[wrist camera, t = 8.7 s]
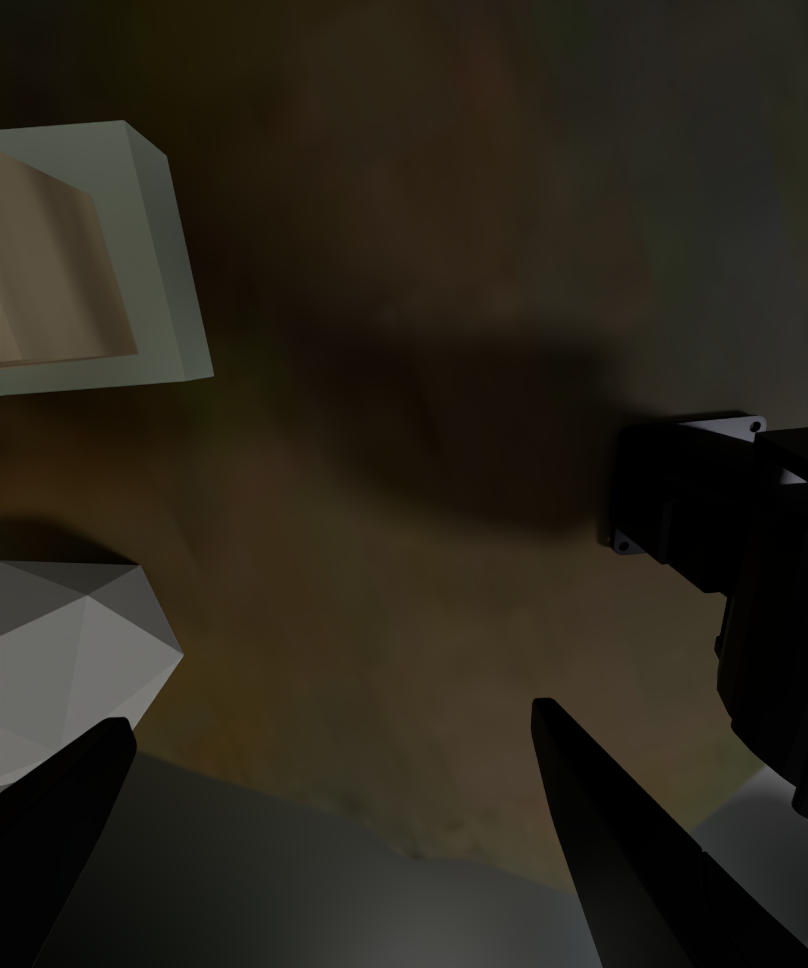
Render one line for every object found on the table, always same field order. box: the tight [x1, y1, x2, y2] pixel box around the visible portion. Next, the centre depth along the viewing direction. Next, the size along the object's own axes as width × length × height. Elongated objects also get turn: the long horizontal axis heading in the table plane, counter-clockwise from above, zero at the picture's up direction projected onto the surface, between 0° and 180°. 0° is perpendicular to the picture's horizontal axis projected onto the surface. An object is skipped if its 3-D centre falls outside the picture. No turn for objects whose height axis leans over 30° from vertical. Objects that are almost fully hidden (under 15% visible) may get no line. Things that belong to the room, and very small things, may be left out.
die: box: [0, 561, 184, 786], centre depth 18 cm, size 8×9×10 cm
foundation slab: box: [0, 120, 214, 396], centre depth 16 cm, size 8×8×3 cm
